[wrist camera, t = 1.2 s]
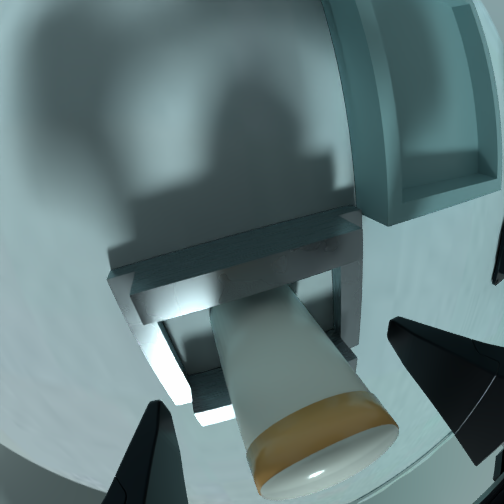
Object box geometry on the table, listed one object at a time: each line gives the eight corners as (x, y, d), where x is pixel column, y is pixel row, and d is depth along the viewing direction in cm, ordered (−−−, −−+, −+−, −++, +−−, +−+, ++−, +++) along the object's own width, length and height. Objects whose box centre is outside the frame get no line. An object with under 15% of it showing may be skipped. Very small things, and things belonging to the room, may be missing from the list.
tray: (448, 2, 8) (471, -2, 6) (476, 181, 14) (500, 189, 12) (304, -46, 6) (327, -67, 4) (356, 212, 12) (387, 226, 10)
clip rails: (351, 204, 12) (387, 220, 9) (351, 336, 15) (374, 363, 13) (110, 270, 10) (96, 304, 8) (175, 394, 13) (179, 430, 11)
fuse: (291, 261, 12) (416, 400, 5) (299, 332, 14) (384, 460, 7) (197, 289, 11) (244, 478, 4) (221, 357, 13) (270, 508, 6)
